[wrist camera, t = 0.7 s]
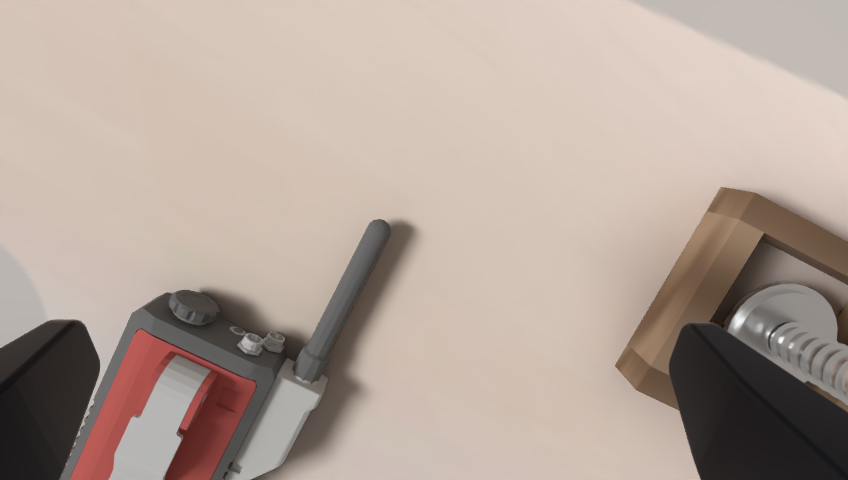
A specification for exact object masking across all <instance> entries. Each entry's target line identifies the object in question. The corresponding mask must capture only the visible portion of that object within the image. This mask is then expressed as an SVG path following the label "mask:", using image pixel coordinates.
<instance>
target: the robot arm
mask: <svg viewBox="0 0 848 480" xmlns="http://www.w3.org/2000/svg"><path fill="white" fill-rule="evenodd" d="M99 372H100V360H99V357H98V354H97V352H96V350H95V347H94V345H93V342H92V340H91V338H90V335H89V333H88V331H87V328H86V326H85V325H84V324H83V323H82V322H81V321H79V320H50V321H47V322H45V323H44V324H42V325H40V326H38V327H37V328H35V329H33V330H31V331H30V332H28V333H26V334H24V335H23V336H21V337H19V338H17V339H16V340H14V341H12V342H10V343H9V344H7V345H5V346H4V347H2V348H0V480H59V479H60V477H61V475H62V473H63V471H64V468H65V466H66V463H67V461H68V458H69V456H70V453H71V451H72V448H73V445H74V442H75V440H76V437H77V434H78V431H79V428H80V426H81V423H82V420H83V417H84V415H85V412H86V409H87V407H88V404H89V401H90V398H91V396H92V393H93V390H94V387H95V385H96V382H97V379H98V376H99ZM669 376H670V380H671V383H672V387H673V390H674V393H675V397H676V400H677V404H678V407H679V411H680V414H681V418H682V421H683V425H684V428H685V432H686V435H687V439H688V442H689V446H690V449H691V453H692V456H693V459H694V462H695V465H696V468H697V471H698V474H699V476H700V479H701V480H848V412H847V411H846V410H844V409H843V408H841V407H840V406H838V405H837V404H835V403H834V402H832V401H831V400H829V399H828V398H826V397H825V396H823V395H822V394H820V393H819V392H817V391H816V390H814V389H813V388H811V387H810V386H808V385H807V384H805V383H804V382H802V381H801V380H799V379H798V378H796V377H795V376H793V375H792V374H790V373H789V372H787V371H786V370H784V369H783V368H781V367H780V366H778V365H777V364H775V363H774V362H772V361H771V360H769V359H768V358H766V357H765V356H763V355H762V354H760V353H759V352H757V351H756V350H754V349H753V348H751V347H750V346H748V345H747V344H745V343H744V342H742V341H741V340H739V339H738V338H736V337H735V336H733V335H732V334H730V333H729V332H727V331H726V330H724V329H723V328H721V327H720V326H718V325H717V324H715V323H711V322H688V323H685V324H684V325H683V326H682V328H681V330H680V332H679V335H678V338H677V340H676V343H675V346H674V349H673V351H672V354H671V357H670V360H669Z"/></svg>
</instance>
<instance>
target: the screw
mask: <svg viewBox="0 0 848 480" xmlns="http://www.w3.org/2000/svg"><path fill="white" fill-rule="evenodd" d="M724 324H725V325H724V328H723V329H724V330H726V331H727V332H729V333H730V334H732V335H733V336H735V337H736V338H738V339H739V340H741V341H742V342H744V343H745V344H747V345H748V346H750V347H751V348H753V349H754V350H756V351H757V352H759V353H760V354H762V355H763V356H765V357H766V358H768V359H769V360H771V361H772V362H774V363H775V364H777V365H778V366H780V367H781V368H783V369H784V370H786V371H787V372H789V373H790V374H792V375H793V376H795V377H796V378H798V379H799V380H801V381H802V382H804V383H805V382H806V381H809V382H811V383H813V384H815V385H817V386H818V387H819V388H821V389H822V390H824V391H826V392H829V393H830V394H831V395H832V396H833V397H835V398H837V399H840V400H841V401H842V402H843V403H845V404H846V405H848V346H847V345H845V344H841V343H838V342H837V330H838V328H837V321H836V316H835V314H834V312H833V309H832V307H831V306H830V304H829V303H828V302H827V300H826V299H825V298H824V297H823V296H822V295H820V294H819V293H818V292H817V291H815V290H813V289H810V288H808V287H806V286H804V285H801V284H796V283H791V282H776V283H772V284H767V285H764V286H762V287H760V288H757V289H755V290H753V291H752V292H750V293H749V294H747V295H746V296H745V297H742V298H741V299H740V300H739V302H738V303H737V304H736V305H735V306H734V308H733V310H732V311H731V313H730V314H729V315H728V317H727V318H726V319H725V321H724Z"/></svg>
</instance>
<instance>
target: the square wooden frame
mask: <svg viewBox="0 0 848 480" xmlns="http://www.w3.org/2000/svg"><path fill="white" fill-rule="evenodd" d="M760 239H761V240H763V241H765V242H767V243H769V244H771V245H773V246H774V247H776V248H778V249H780V250H782V251H784V252H786V253H788V254H790V255H792V256H794V257H795V258H797V259H799V260H801V261H803V262H805V263H807V264H809V265H811V266H813V267H815V268H817V269H818V270H820V271H822V272H824V273H826V274H828V275H830V276H832V277H834V278H836V279H838V280H839V281H841V282H843V283H845V284H847V285H848V242H846V241H845V240H843V239H841V238H839V237H837V236H835V235H833V234H831V233H830V232H828V231H826V230H824V229H822V228H820V227H818V226H816V225H815V224H813V223H811V222H809V221H807V220H805V219H803V218H801V217H800V216H798V215H796V214H794V213H792V212H790V211H788V210H786V209H785V208H783V207H781V206H779V205H777V204H775V203H773V202H771V201H770V200H768V199H766V198H764V197H762V196H760V195H758V194H756V193H752V192H746V191H741V190H735V189H729V188H723V187H721V188H720V190H719V192H718V193H717V195H716V197H715V198H714V200H713V202H712V203H711V205H710V207H709V209H708V210H707V212H706V214H705V215H704V217H703V219H702V220H701V222H700V224H699V225H698V227H697V229H696V230H695V232H694V234H693V235H692V237H691V239H690V241H689V242H688V244H687V246H686V247H685V249H684V251H683V252H682V254H681V256H680V257H679V259H678V261H677V262H676V264H675V266H674V267H673V269H672V271H671V273H670V274H669V276H668V278H667V279H666V281H665V283H664V284H663V286H662V288H661V289H660V291H659V293H658V294H657V296H656V298H655V299H654V301H653V303H652V305H651V306H650V308H649V310H648V311H647V313H646V315H645V316H644V318H643V320H642V321H641V323H640V325H639V326H638V328H637V330H636V331H635V333H634V335H633V337H632V338H631V340H630V342H629V343H628V345H627V347H626V348H625V350H624V352H623V353H622V355H621V357H620V358H619V360H618V362H617V363H616V365H615V366H616V367H617V369H618V370H619V371H620V372H621V373H622V374H623V375H624V377H625V378H626V379H627V380H628V381H629V382H630V383H631V385H632V386H633V387H634V388H635V389H636V390H637V391H639V392H642V393H644V394H646V395H648V396H650V397H652V398H654V399H656V400H658V401H660V402H663V403H665V404H667V405H669V406H671V407H673V408H675V409H677V410H679V407H678V404H677V400H676V397H675V393H674V390H673V387H672V383H671V380H670V376H669V360H670V357H671V354H672V351H673V349H674V346H675V343H676V340H677V338H678V335H679V332H680V330H681V328H682V326H683V325H684V324H685V323H688V322H709V321H710V320H711V318H712V316H713V315H714V313H715V312H716V310H717V308H718V307H719V305H720V303H721V302H722V300H723V299H724V297H725V295H726V294H727V292H728V291H729V289H730V287H731V286H732V284H733V282H734V281H735V279H736V278H737V276H738V274H739V273H740V271H741V269H742V268H743V266H744V265H745V263H746V261H747V260H748V258H749V256H750V255H751V253H752V252H753V250H754V248H755V247H756V245H757V243H758V242H759V240H760ZM836 321H837V328H838V330H837V342H838V343H841V344H845V345H847V346H848V302H847V304H846V305H845V307H844V308H843V310H842V311H841V313H840V314H839V316H838V317H837V319H836ZM805 384H807V385H808V386H810V387H811V388H813V389H814V390H816V391H817V392H819V393H820V394H822V395H823V396H825V397H826V398H828V399H829V400H831V401H832V402H834V403H835V404H837V405H838V406H840V407H841V408H843V409H844V410H846V411H847V412H848V405H846V404H845V403H843V402H842V401H841V400H840V399H837V398H835V397H833V396H832V395H831V394H830V393H829V392H826V391H824V390H822V389H821V388H819V387H818V386H817V385H815V384H813V383H811V382H809V381H806V382H805Z"/></svg>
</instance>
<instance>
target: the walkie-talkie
mask: <svg viewBox="0 0 848 480" xmlns="http://www.w3.org/2000/svg"><path fill="white" fill-rule="evenodd" d="M390 234H391V229H390V226H389V224H388V223H387V222H385V221H384V220H381V219H378V220H373V221H372V222H371V223H370V224H369V225H368V227H367V229H366V231H365V233H364V235H363V237H362V239H361V241H360V243H359V245H358V247H357V249H356V251H355V253H354V255H353V257H352V259H351V261H350V263H349V265H348V267H347V269H346V270H345V272H344V274H343V276H342V278H341V280H340V282H339V284H338V286H337V288H336V290H335V292H334V294H333V296H332V298H331V300H330V302H329V304H328V306H327V308H326V310H325V312H324V314H323V316H322V318H321V320H320V322H319V324H318V326H317V328H316V329H315V331H314V333H313V335H312V337H311V339H310V341H309V343H308V345H305V346H304V347H303V348H302V350H301V352H300V354H299V356H298V358H297V360H296V362H295V361H293V360H291V359H289V358H286V354H285V349H284V346H283V343H284V341H285V338H284V337H283V336H282V335H281V334H279V333H277V332H269V333H268V335H267V336H266V337H264V338H262V337H260V336H258V335H256V334H254V333H252V332H250V331H248V330H246V329H243V328H241V327H239V326H237V325H235V324H233V323H231V322H229V321H226V320H224V319H222V318H220V317H218V314H219V312H220V309H219V306H218V305H217V304H216V303H215V302H214V300H213V299H211V298H210V297H208V296H206V295H204V294H202V293H198V292H194V291H190V290H181V291H177V292H175V293H173V294H172V295H171V294H169V293H165V294H163V295H161V296H159V297H157V298H155V299H154V300H152V301H151V302H149V303H147V304H146V305H144V306H143V307H141V308H140V309H138V310H136V311H135V312H133V313H132V314H131V317H130V319H129V321H128V323H127V326H126V328H125V330H124V332H123V335H122V337H121V339H120V341H119V344H118V346H117V348H116V350H115V353H114V355H113V357H112V359H111V362H110V364H109V366H108V368H107V371H106V373H105V375H104V377H103V379H102V382H101V384H100V386H99V388H98V391H97V393H96V395H95V397H94V402H95V403H94V405H92V406H91V407H90V409H89V411H90V414H89V415H88V416H87V417H86V418H85V420H84V421H85V425H84V426H83V427H82V428H81V430H80V433H81V434H80V436H78V437H77V438H76V440H75V442H76V445H75V446H74V447H73V448H72V451H71V456H70V457H69V458H68V461H67V465H66V466H65V468H64V471H63V473H62V476H61V477H60V479H59V480H251V479H253V478H255V477H258V476H260V475H262V474H264V473H266V472H269V471H271V470H273V469H275V468H277V467H279V466H280V465H282V464H283V463H284V461H285V459H286V457H287V455H288V453H289V451H290V449H291V448H292V446H293V444H294V442H295V440H296V438H297V436H298V434H299V432H300V431H301V429H302V427H303V425H304V423H305V421H306V419H307V417H308V416H309V414H310V412H311V410H313V409H315V408H316V407H317V406H318V404H319V402H320V400H321V398H322V396H323V393H324V390H325V387H326V385H327V382H328V378H327V376H325V375H323V374H322V373H323V371H324V369H325V367H326V365H327V363H328V361H329V356H328V354H329V352H330V351H331V349H332V347H333V345H334V343H335V341H336V339H337V337H338V335H339V333H340V331H341V329H342V327H343V325H344V324H345V322H346V320H347V318H348V316H349V314H350V312H351V310H352V308H353V306H354V304H355V302H356V300H357V298H358V296H359V295H360V293H361V291H362V289H363V287H364V285H365V283H366V281H367V279H368V277H369V275H370V273H371V271H372V269H373V268H374V266H375V264H376V262H377V260H378V258H379V256H380V254H381V252H382V250H383V248H384V246H385V244H386V242H387V241H388V239H389V237H390Z"/></svg>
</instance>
